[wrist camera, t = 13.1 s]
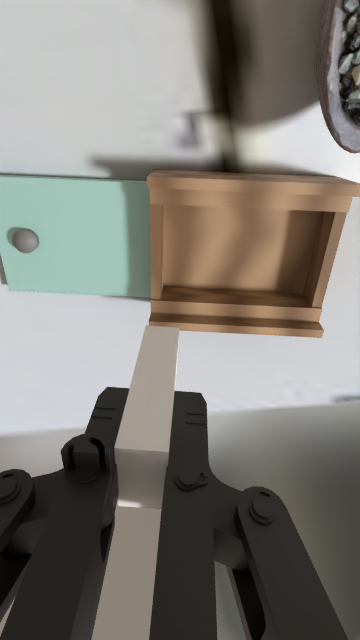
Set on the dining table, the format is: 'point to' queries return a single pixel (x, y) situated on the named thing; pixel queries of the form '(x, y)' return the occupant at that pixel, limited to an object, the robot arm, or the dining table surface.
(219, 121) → the dining table surface
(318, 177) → the box
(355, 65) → the planter
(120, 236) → the lid
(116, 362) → the dining table surface
